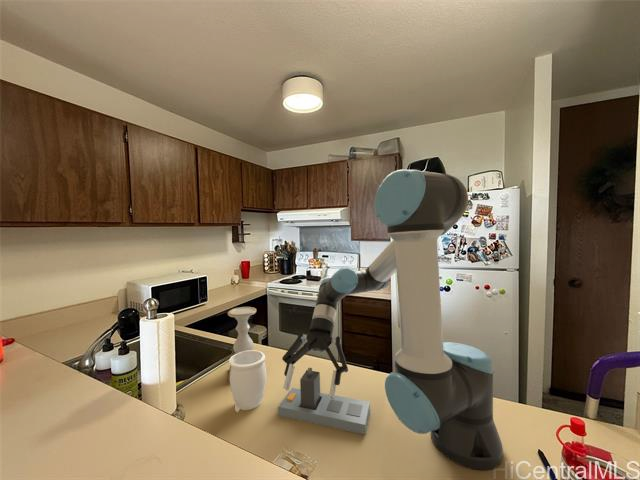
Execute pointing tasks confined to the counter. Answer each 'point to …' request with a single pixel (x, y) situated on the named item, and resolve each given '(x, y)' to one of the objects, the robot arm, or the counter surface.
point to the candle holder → (242, 330)
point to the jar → (247, 379)
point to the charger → (310, 389)
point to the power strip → (328, 411)
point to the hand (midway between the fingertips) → (308, 393)
